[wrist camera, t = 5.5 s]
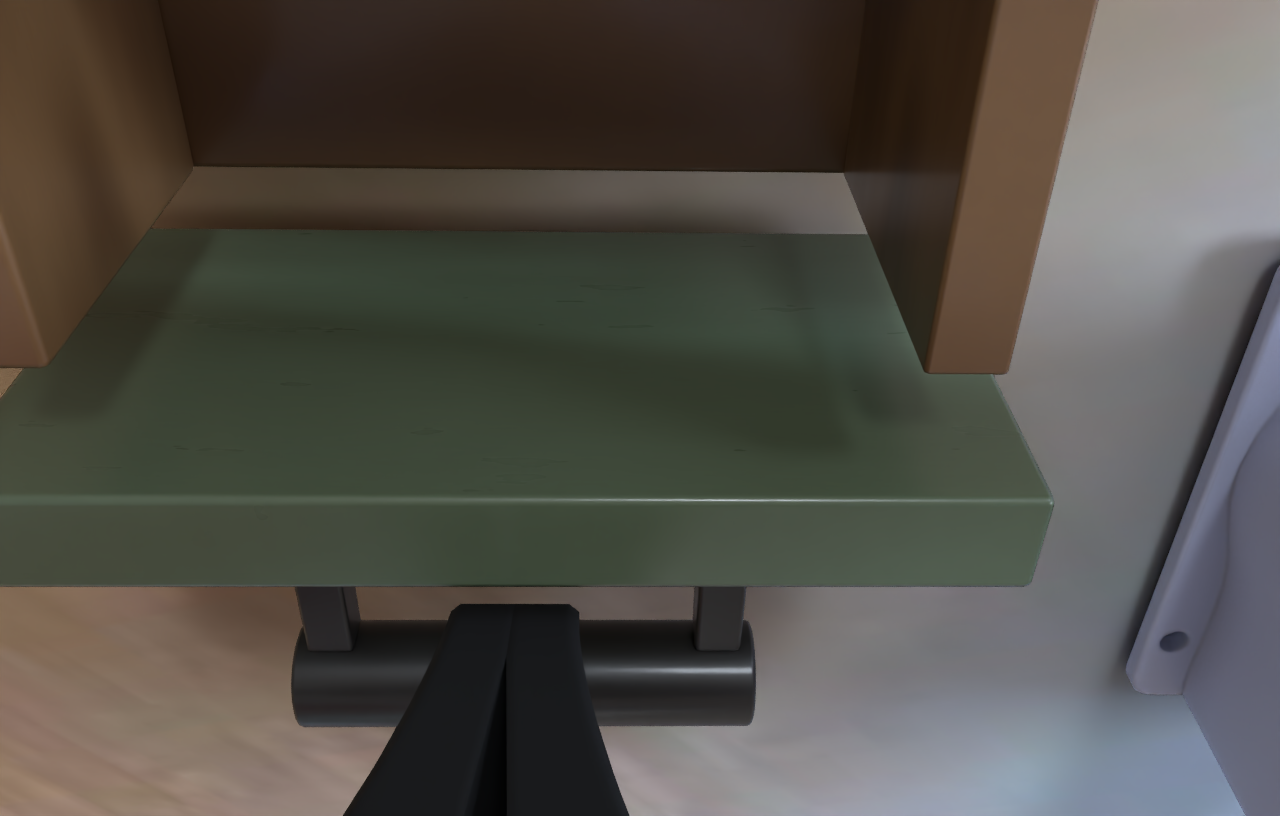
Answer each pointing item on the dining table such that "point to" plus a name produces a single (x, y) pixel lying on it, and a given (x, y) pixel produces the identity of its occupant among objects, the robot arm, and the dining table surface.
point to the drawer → (524, 318)
